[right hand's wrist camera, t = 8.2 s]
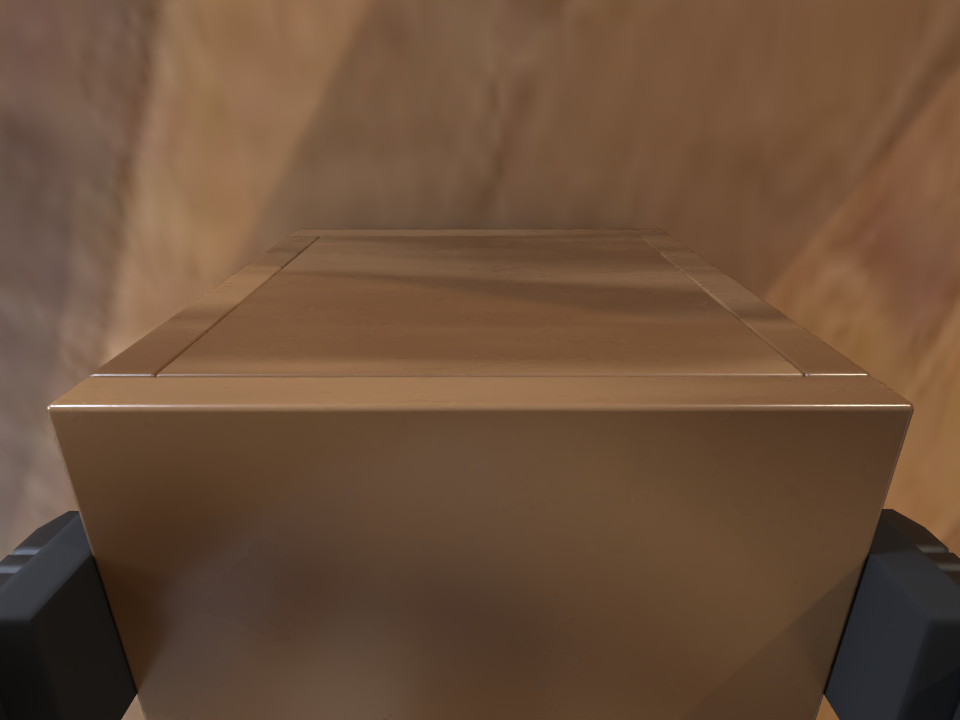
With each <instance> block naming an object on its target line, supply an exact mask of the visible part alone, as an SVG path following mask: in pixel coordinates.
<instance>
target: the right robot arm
mask: <svg viewBox="0 0 960 720" xmlns="http://www.w3.org/2000/svg"><path fill="white" fill-rule="evenodd" d="M136 694H137V692H136V689H135V686H134V683H133V680H132V677H131V673H130V670H129V667H128V664H127V661H126V658H125V655H124V652H123V648H122V645H121V642H120V639H119V636H118V633H117V630H116V627H115V623H114V620H113V617H112V614H111V611H110V608H109V605H108V602H107V598H106V595H105V592H104V589H103V586H102V583H101V580H100V577H99V573H98V570H97V567H96V564H95V561H94V558H93V555H92V552H91V548H90V545H89V542H88V539H87V536H86V533H85V530H84V527H83V523H82V520H81V517H80V514H79V511H68V512H67V513H65V514H63V515H61V516H60V517H58V518H56V519H54V520H52V521H51V522H49V523H47V524H45V525H44V526H42V527H40V528H38V529H37V530H36V531H34V532H33V533H32V534H31V535H30V536H29V537H28V538H27V539H26V540H24V541H23V542H22V543H21V544H20V545H19V546H18V547H17V548H15V549H14V550H13V554H12V555H8V556H6V557H5V558H4V559H3V560H2V561H1V562H0V720H121V719H122V717H123V716H124V714H125V712H126V711H127V709H128V707H129V706H130V704H131V703H132V701H133V699H134V698H135V696H136ZM824 695H825V697H826V698H827V700H828V702H829V703H830V705H831V706H832V708H833V710H834V711H835V713H836V715H837V716H838V718H839V719H840V720H960V558H958V557H957V556H956V555H955V554H954V553H949V551H948V548H947V547H946V546H945V545H944V544H943V543H942V542H940V541H939V540H938V539H937V538H936V537H935V536H934V535H933V534H931V533H930V532H929V531H928V530H927V529H926V528H925V527H923V526H921V525H919V524H918V523H916V522H914V521H912V520H911V519H909V518H907V517H905V516H903V515H902V514H900V513H898V512H896V511H895V510H893V509H882V511H881V515H880V518H879V521H878V524H877V527H876V530H875V534H874V537H873V540H872V543H871V546H870V549H869V552H868V556H867V559H866V562H865V565H864V568H863V571H862V574H861V578H860V581H859V584H858V587H857V590H856V593H855V597H854V600H853V603H852V606H851V609H850V612H849V615H848V619H847V622H846V625H845V628H844V631H843V634H842V637H841V641H840V644H839V647H838V650H837V653H836V656H835V660H834V663H833V666H832V669H831V672H830V675H829V678H828V682H827V685H826V688H825V691H824Z"/></svg>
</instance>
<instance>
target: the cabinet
mask: <svg viewBox="0 0 960 720" xmlns="http://www.w3.org/2000/svg"><path fill="white" fill-rule="evenodd" d="M913 411H914V409H913V405H912V404H911V403H910V402H909V401H907V400H906V399H904V398H903V397H901V396H900V395H899V394H897V393H896V392H894V391H893V390H891V389H890V388H888V387H887V386H886V385H884V384H883V383H881V382H880V381H878V380H877V379H876V378H873V377H870V376H869V373H868V372H866V371H865V370H863V369H862V368H860V367H859V366H857V365H856V364H855V363H853V362H852V361H850V360H849V359H847V358H846V357H845V356H843V355H842V354H840V353H839V352H837V351H836V350H834V349H833V348H832V347H830V346H829V345H827V344H826V343H824V342H823V341H821V340H820V339H819V338H817V337H816V336H814V335H813V334H811V333H810V332H809V331H807V330H806V329H804V328H803V327H801V326H800V325H798V324H797V323H796V322H794V321H793V320H791V319H790V318H788V317H787V316H785V315H784V314H783V313H781V312H780V311H778V310H777V309H775V308H774V307H773V306H771V305H770V304H768V303H767V302H765V301H764V300H762V299H761V298H760V297H758V296H757V295H755V294H754V293H752V292H751V291H749V290H748V289H747V288H745V287H744V286H742V285H741V284H739V283H738V282H737V281H735V280H734V279H732V278H731V277H729V276H728V275H726V274H725V273H724V272H722V271H721V270H719V269H718V268H716V267H715V266H714V265H712V264H711V263H709V262H708V261H706V260H705V259H703V258H702V257H701V256H699V255H698V254H696V253H695V252H693V251H692V250H690V249H689V248H688V247H686V246H685V245H683V244H682V243H680V242H679V241H678V240H676V239H675V238H673V237H672V236H670V235H669V234H668V233H666V232H665V231H663V230H661V229H348V230H297V231H296V232H294V233H293V234H291V235H290V236H288V237H287V238H285V239H284V240H283V241H281V242H280V243H278V244H277V245H275V246H274V247H272V248H271V249H270V250H268V251H267V252H265V253H264V254H262V255H261V256H260V257H258V258H257V259H255V260H254V261H252V262H251V263H250V264H248V265H247V266H245V267H244V268H242V269H241V270H240V271H238V272H237V273H235V274H234V275H232V276H231V277H229V278H228V279H227V280H225V281H224V282H222V283H221V284H219V285H218V286H217V287H215V288H214V289H212V290H211V291H209V292H208V293H207V294H205V295H204V296H202V297H201V298H199V299H198V300H197V301H195V302H194V303H192V304H191V305H189V306H188V307H186V308H185V309H184V310H182V311H181V312H179V313H178V314H176V315H175V316H174V317H172V318H171V319H169V320H168V321H166V322H165V323H164V324H162V325H161V326H159V327H158V328H156V329H155V330H154V331H152V332H151V333H149V334H148V335H146V336H145V337H143V338H142V339H141V340H139V341H138V342H136V343H135V344H133V345H132V346H131V347H129V348H128V349H126V350H125V351H123V352H122V353H121V354H119V355H118V356H116V357H115V358H113V359H112V360H110V361H109V362H108V363H106V364H105V365H103V366H102V367H100V368H99V369H98V370H96V371H95V372H93V373H92V374H91V375H90V378H87V379H85V380H83V381H82V382H80V383H79V384H78V385H76V386H75V387H73V388H72V389H70V390H69V391H68V392H66V393H65V394H63V395H62V396H60V397H59V398H58V399H56V400H55V401H53V402H52V403H50V404H49V405H48V407H47V414H48V417H49V420H50V424H51V427H52V430H53V433H54V436H55V439H56V442H57V445H58V449H59V452H60V455H61V458H62V461H63V464H64V467H65V470H66V474H67V477H68V480H69V483H70V486H71V489H72V492H73V495H74V499H75V502H76V505H77V508H78V511H79V514H80V517H81V520H82V523H83V527H84V530H85V533H86V536H87V539H88V542H89V545H90V548H91V552H92V555H93V558H94V561H95V564H96V567H97V570H98V573H99V577H100V580H101V583H102V586H103V589H104V592H105V595H106V598H107V602H108V605H109V608H110V611H111V614H112V617H113V620H114V623H115V627H116V630H117V633H118V636H119V639H120V642H121V645H122V648H123V652H124V655H125V658H126V661H127V664H128V667H129V670H130V673H131V677H132V680H133V683H134V686H135V689H136V692H137V695H138V698H139V702H140V705H141V708H142V711H143V714H144V717H145V720H815V719H816V716H817V713H818V710H819V707H820V704H821V700H822V697H823V694H824V691H825V688H826V685H827V682H828V678H829V675H830V672H831V669H832V666H833V663H834V660H835V656H836V653H837V650H838V647H839V644H840V641H841V637H842V634H843V631H844V628H845V625H846V622H847V619H848V615H849V612H850V609H851V606H852V603H853V600H854V597H855V593H856V590H857V587H858V584H859V581H860V578H861V574H862V571H863V568H864V565H865V562H866V559H867V556H868V552H869V549H870V546H871V543H872V540H873V537H874V534H875V530H876V527H877V524H878V521H879V518H880V515H881V511H882V508H883V505H884V502H885V499H886V496H887V493H888V489H889V486H890V483H891V480H892V477H893V474H894V471H895V467H896V464H897V461H898V458H899V455H900V452H901V448H902V445H903V442H904V439H905V436H906V433H907V430H908V426H909V423H910V420H911V417H912V414H913Z"/></svg>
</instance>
